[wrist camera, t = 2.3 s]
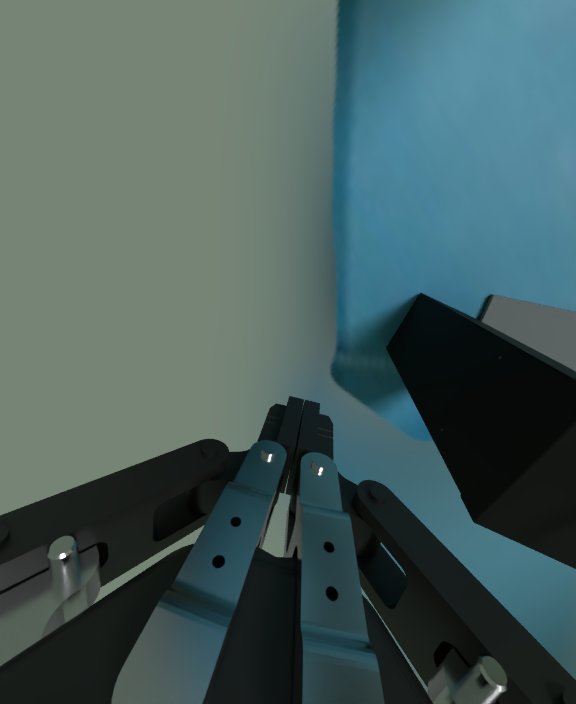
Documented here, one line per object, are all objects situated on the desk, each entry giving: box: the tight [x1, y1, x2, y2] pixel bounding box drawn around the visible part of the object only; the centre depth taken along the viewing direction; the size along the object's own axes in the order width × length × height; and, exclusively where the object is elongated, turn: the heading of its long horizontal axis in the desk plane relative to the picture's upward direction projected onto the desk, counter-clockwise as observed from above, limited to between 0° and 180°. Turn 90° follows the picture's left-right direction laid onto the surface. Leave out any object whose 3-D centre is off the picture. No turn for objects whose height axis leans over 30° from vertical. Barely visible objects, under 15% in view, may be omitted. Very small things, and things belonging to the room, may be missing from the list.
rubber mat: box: [479, 294, 576, 371], centre depth 34 cm, size 12×18×1 cm, turn 79°
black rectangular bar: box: [386, 293, 576, 569], centre depth 22 cm, size 8×8×28 cm
